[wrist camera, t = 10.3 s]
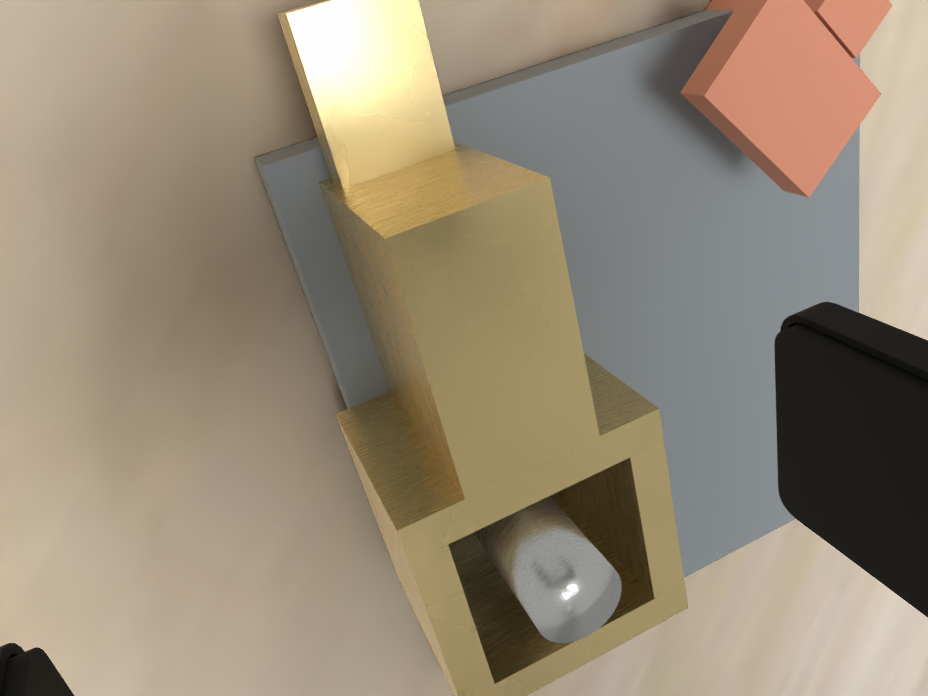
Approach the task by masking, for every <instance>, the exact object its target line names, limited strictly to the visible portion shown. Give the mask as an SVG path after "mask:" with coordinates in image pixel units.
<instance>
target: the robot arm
mask: <svg viewBox="0 0 928 696" xmlns="http://www.w3.org/2000/svg"><path fill="white" fill-rule="evenodd" d="M774 349H775V387H776V426H777V464H778V491H779V496H780V499H781V501H782V503H783V505H784V507H785V508H786V509H787V511H788V512H789V513H790V514H791V515H792V516H793V517H795V518H796V519H797V520H799V521H800V522H801V523H803V524H804V525H805V526H807V527H808V528H809V529H811V530H812V531H813V532H815V533H816V534H817V535H819V536H820V537H821V538H823V539H824V540H825V541H827V542H828V543H829V544H831V545H832V546H833V547H835V548H836V549H837V550H839V551H840V552H841V553H843V554H844V555H845V556H847V557H848V558H849V559H851V560H852V561H853V562H855V563H856V564H857V565H859V566H860V567H861V568H863V569H864V570H865V571H867V572H868V573H869V574H871V575H872V576H873V577H875V578H876V579H877V580H879V581H880V582H881V583H883V584H884V585H885V586H887V587H888V588H889V589H891V590H892V591H893V592H895V593H896V594H897V595H899V596H900V597H901V598H903V599H904V600H905V601H907V602H908V603H909V604H911V605H912V606H913V607H915V608H916V609H917V610H919V611H920V612H921V613H923V614H924V615H925V616H927V617H928V341H927V340H925V339H922V338H920V337H917V336H915V335H913V334H910V333H908V332H905V331H903V330H900V329H898V328H895V327H893V326H890V325H888V324H885V323H883V322H880V321H878V320H875V319H873V318H870V317H868V316H865V315H863V314H861V313H858V312H856V311H853V310H851V309H848V308H846V307H843V306H841V305H838V304H836V303H832V302H822V303H819V304H817V305H814V306H812V307H809V308H807V309H805V310H802V311H800V312H797V313H795V314H793V315H790V316H788V317H787V318H786V319H784V321H783V323H782V325H781V329H780V332H779V333H778V334H777V336H776V338H775V343H774ZM0 696H74V695H73V693H72V692H71V690H70V689H69V687H68V686H67V684H66V683H65V681H64V680H63V678H62V677H61V675H60V674H59V672H58V671H57V669H56V668H55V666H54V665H53V663H52V662H51V660H50V659H49V657H48V656H47V654H46V653H45V652H44V651H43V650H42V649H40V648H33V649H31V650H28V651H26V652H24V650H23V649H22V648H21V647H20V646H18V645H17V644H15V643H8V644H6V645H4V646H1V647H0Z"/></svg>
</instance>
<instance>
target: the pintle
mask: <svg viewBox="0 0 928 696" xmlns="http://www.w3.org/2000/svg"><path fill="white" fill-rule="evenodd" d="M473 534H474V535H475V537H476V538H477V540H478V541H479V543H480V544H481V546H482V547H483V548H484V550H485V551H486V553H487V554H488V556H489V557H490V559H491V560H492V562H493V563H494V565H495V566H496V568H497V569H498V571H499V572H500V574H501V575H502V577H503V578H504V580H505V581H506V583H507V584H508V586H509V587H510V589H511V590H512V592H513V593H514V595H515V596H516V598H517V599H518V601H519V602H520V604H521V605H522V607H523V608H524V610H525V611H526V613H527V614H528V616H529V617H530V619H531V620H532V622H533V623H534V624H535V626H536V627H537V629H538V630H539V632H540V633H541V634H542V636H543V637H545V638H546V639H548V640H550V641H552V642H556V643H569V642H574V641H577V640H580V639H583V638H585V637H587V636H589V635H590V634H592V633H594V632H595V631H596V630H598V629H599V628H600V627H601V626H602V625H603V624H604V623H605V622H606V621H607V620H608V619H609V618H610V617H611V615H612V614H613V612H614V611H615V609H616V607H617V605H618V602H619V600H620V596H621V591H622V584H621V579H620V576H619V574H618V572H617V571H616V570H615V569H614V568H613V566H612V565H611V564H610V563H609V562H608V561H607V560H606V559H605V557H604V556H603V555H602V554H601V553H600V552H599V551H598V549H597V548H596V547H595V546H594V545H593V544H592V543H591V542H590V540H589V539H588V538H587V537H586V536H585V535H584V534H583V533H582V531H581V530H580V529H579V528H578V527H577V526H576V525H575V523H574V522H573V521H572V520H571V519H570V518H569V517H568V516H567V514H566V513H565V512H564V511H563V510H562V509H561V508H560V507H559V505H558V504H557V503H556V502H555V501H554V500H553V499H552V497H551V496H548V497H546V498H544V499H542V500H540V501H538V502H536V503H534V504H532V505H530V506H527V507H525V508H523V509H521V510H519V511H517V512H515V513H513V514H511V515H509V516H507V517H505V518H502V519H500V520H498V521H496V522H494V523H492V524H490V525H488V526H486V527H484V528H482V529H479V530H477V531H475V532H473Z"/></svg>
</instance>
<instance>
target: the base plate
mask: <svg viewBox="0 0 928 696" xmlns="http://www.w3.org/2000/svg"><path fill="white" fill-rule="evenodd" d="M733 11H734V10H704V11H701V12H698V13H695V14H692V15H689V16H686V17H683V18H680V19H677V20H674V21H671V22H668V23H665V24H661V25H658V26H655V27H652V28H649V29H646V30H643V31H640V32H637V33H634V34H631V35H628V36H625V37H622V38H619V39H615V40H612V41H609V42H606V43H603V44H600V45H597V46H594V47H591V48H588V49H585V50H582V51H579V52H576V53H573V54H570V55H566V56H563V57H560V58H557V59H554V60H551V61H548V62H545V63H542V64H539V65H536V66H533V67H530V68H527V69H524V70H520V71H517V72H514V73H511V74H508V75H505V76H502V77H499V78H496V79H493V80H490V81H487V82H484V83H481V84H478V85H475V86H471V87H468V88H465V89H462V90H459V91H456V92H453V93H450V94H447V95H444V96H442V97H443V101H444V105H445V109H446V113H447V118H448V122H449V126H450V130H451V134H452V138H453V141H454V142H457V143H460V144H462V145H465V146H468V147H470V148H473V149H476V150H478V151H481V152H484V153H486V154H489V155H492V156H494V157H497V158H500V159H502V160H505V161H508V162H510V163H513V164H516V165H518V166H521V167H523V168H526V169H529V170H531V171H534V172H537V173H539V174H542V175H545V176H547V177H550V180H551V186H552V191H553V196H554V201H555V206H556V212H557V217H558V222H559V227H560V232H561V238H562V243H563V248H564V253H565V258H566V264H567V269H568V274H569V279H570V284H571V290H572V295H573V300H574V305H575V310H576V316H577V321H578V326H579V331H580V336H581V341H582V347H583V352H584V354H586V355H587V356H588V357H590V358H591V359H592V360H594V361H595V362H597V363H598V364H599V365H601V366H602V367H603V368H605V369H606V370H607V371H609V372H610V373H611V374H613V375H614V376H616V377H617V378H618V379H620V380H621V381H622V382H624V383H625V384H626V385H628V386H629V387H631V388H632V389H633V390H635V391H636V392H637V393H639V394H640V395H641V396H643V397H644V398H646V399H647V400H648V401H650V402H651V403H652V404H654V405H655V406H656V407H658V408H659V410H660V417H661V424H662V431H663V438H664V445H665V452H666V458H667V465H668V472H669V479H670V486H671V493H672V500H673V507H674V514H675V521H676V528H677V534H678V541H679V548H680V555H681V562H682V569H683V576H684V577H686V576H688V575H690V574H692V573H693V572H695V571H697V570H699V569H701V568H703V567H705V566H707V565H709V564H710V563H712V562H714V561H716V560H718V559H720V558H722V557H724V556H726V555H727V554H729V553H731V552H733V551H735V550H737V549H739V548H741V547H743V546H745V545H746V544H748V543H750V542H752V541H754V540H756V539H758V538H760V537H762V536H763V535H765V534H767V533H769V532H771V531H773V530H775V529H777V528H779V527H781V526H782V525H784V524H786V523H788V522H790V521H792V520H794V519H796V518H795V517H793V516H792V515H791V514H790V513H789V512H788V511H787V509H786V508H785V507H784V505H783V503H782V501H781V499H780V496H779V491H778V464H777V426H776V387H775V349H774V343H775V338H776V336H777V334H778V333H779V332H780V329H781V325H782V323H783V321H784V319H786V318H787V317H788V316H790V315H793V314H795V313H797V312H800V311H802V310H805V309H807V308H809V307H812V306H814V305H817V304H819V303H822V302H832V303H836V304H838V305H841V306H843V307H846V308H848V309H851V310H853V311H856V312H858V313H859V126H858V128H857V129H856V131H855V132H854V134H853V135H852V136H851V138H850V139H849V141H848V142H847V144H846V145H845V147H844V148H843V149H842V151H841V152H840V154H839V155H838V157H837V158H836V160H835V161H834V162H833V164H832V165H831V167H830V168H829V170H828V171H827V173H826V174H825V175H824V177H823V178H822V180H821V181H820V183H819V184H818V186H817V187H816V188H815V190H814V191H813V193H812V194H811V196H810V197H805V196H801V195H797V194H793V193H790V192H786V191H783V190H782V189H781V188H780V187H779V186H778V185H777V184H776V183H775V182H774V181H773V180H772V179H771V178H770V177H769V176H767V175H766V174H765V173H764V172H763V171H762V170H761V169H760V168H759V167H758V166H757V165H756V164H755V163H754V162H753V161H752V160H751V159H750V158H748V157H747V156H746V155H745V154H744V153H743V152H742V151H741V150H740V149H739V148H738V147H737V146H736V145H735V144H734V143H733V142H732V141H731V140H729V139H728V138H727V137H726V136H725V135H724V134H723V133H722V132H721V131H720V130H719V129H718V128H717V127H716V126H715V125H714V124H713V123H712V122H710V121H709V120H708V119H707V118H706V117H705V116H704V115H703V114H702V113H701V112H700V111H699V110H698V109H697V108H696V107H695V106H694V105H692V104H691V103H690V102H689V101H688V100H687V99H686V98H685V97H684V96H683V95H682V94H681V93H680V92H681V91H682V89H683V88H684V86H685V85H686V83H687V81H688V80H689V78H690V77H691V75H692V74H693V72H694V71H695V69H696V68H697V66H698V65H699V63H700V62H701V60H702V59H703V57H704V56H705V54H706V53H707V51H708V49H709V48H710V46H711V45H712V43H713V42H714V40H715V39H716V37H717V36H718V34H719V33H720V31H721V30H722V28H723V27H724V25H725V24H726V22H727V21H728V19H729V17H730V16H731V14H732V13H733ZM852 59H853V60H854V62H855V63H856V64H857V65H858V66H859V68H860V54H859V55H858V57H857V58H852ZM254 159H255V162H256V164H257V167H258V170H259V172H260V175H261V178H262V181H263V183H264V186H265V189H266V191H267V194H268V197H269V199H270V202H271V205H272V208H273V210H274V213H275V216H276V218H277V221H278V224H279V226H280V229H281V232H282V235H283V237H284V240H285V243H286V245H287V248H288V251H289V253H290V256H291V259H292V262H293V264H294V267H295V270H296V272H297V275H298V278H299V280H300V283H301V286H302V289H303V291H304V294H305V297H306V299H307V302H308V305H309V307H310V310H311V313H312V316H313V318H314V321H315V324H316V326H317V329H318V332H319V335H320V337H321V340H322V343H323V345H324V348H325V351H326V353H327V356H328V359H329V362H330V364H331V367H332V370H333V372H334V375H335V378H336V380H337V383H338V386H339V389H340V391H341V394H342V397H343V399H344V402H345V405H346V407H347V409H349V408H351V407H354V406H356V405H358V404H361V403H363V402H366V401H368V400H370V399H373V398H375V397H377V396H380V395H382V394H385V393H387V392H389V389H388V386H387V383H386V380H385V377H384V374H383V371H382V368H381V365H380V362H379V359H378V356H377V353H376V350H375V347H374V344H373V342H372V339H371V336H370V333H369V330H368V327H367V324H366V321H365V318H364V315H363V312H362V309H361V306H360V303H359V300H358V297H357V294H356V291H355V288H354V285H353V283H352V280H351V277H350V274H349V271H348V268H347V265H346V262H345V259H344V256H343V253H342V250H341V247H340V244H339V241H338V238H337V235H336V232H335V229H334V226H333V224H332V221H331V218H330V215H329V212H328V209H327V206H326V203H325V200H324V197H323V194H322V191H321V188H320V185H319V181H322V180H325V179H328V178H331V176H330V173H329V170H328V167H327V164H326V161H325V157H324V154H323V151H322V148H321V145H320V142H319V139H318V137H315V138H312V139H309V140H306V141H303V142H300V143H297V144H294V145H291V146H288V147H285V148H281V149H278V150H275V151H272V152H269V153H266V154H263V155H260V156H257V157H254Z"/></svg>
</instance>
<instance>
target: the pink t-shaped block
mask: <svg viewBox="0 0 928 696" xmlns="http://www.w3.org/2000/svg"><path fill="white" fill-rule="evenodd" d="M891 7H892V4H891V3H890V2H889V0H712V1H711V2H710V4H709V5H708V7H707V8H706V10H734V11H733V13H732V14H731V16H730V17H729V19H728V21H727V22H726V24H725V25H724V27H723V28H722V30H721V31H720V33H719V34H718V36H717V37H716V39H715V40H714V42H713V43H712V45H711V46H710V48H709V49H708V51H707V53H706V54H705V56H704V57H703V59H702V60H701V62H700V63H699V65H698V66H697V68H696V69H695V71H694V72H693V74H692V75H691V77H690V78H689V80H688V81H687V83H686V85H685V86H684V88H683V89H682V91H681V92H680V93H681V94H682V95H683V96H684V97H685V98H686V99H687V100H688V101H689V102H690V103H691V104H692V105H694V106H695V107H696V108H697V109H698V110H699V111H700V112H701V113H702V114H703V115H704V116H705V117H706V118H707V119H708V120H709V121H710V122H712V123H713V124H714V125H715V126H716V127H717V128H718V129H719V130H720V131H721V132H722V133H723V134H724V135H725V136H726V137H727V138H728V139H729V140H731V141H732V142H733V143H734V144H735V145H736V146H737V147H738V148H739V149H740V150H741V151H742V152H743V153H744V154H745V155H746V156H747V157H748V158H750V159H751V160H752V161H753V162H754V163H755V164H756V165H757V166H758V167H759V168H760V169H761V170H762V171H763V172H764V173H765V174H766V175H767V176H769V177H770V178H771V179H772V180H773V181H774V182H775V183H776V184H777V185H778V186H779V187H780V188H781V189H782V190H783V191H786V192H790V193H793V194H797V195H801V196H805V197H810V196H811V194H812V193H813V191H814V190H815V188H816V187H817V186H818V184H819V183H820V181H821V180H822V178H823V177H824V175H825V174H826V173H827V171H828V170H829V168H830V167H831V165H832V164H833V162H834V161H835V160H836V158H837V157H838V155H839V154H840V152H841V151H842V149H843V148H844V147H845V145H846V144H847V142H848V141H849V139H850V138H851V136H852V135H853V134H854V132H855V131H856V129H857V128H858V126H859V125H860V123H861V122H862V121H863V119H864V118H865V116H866V115H867V113H868V112H869V110H870V109H871V108H872V106H873V105H874V103H875V102H876V100H877V99H878V97H879V96H880V95H881V93H880V92H879V91H878V89H877V88H876V87H875V86H874V85H873V83H872V82H871V81H870V80H869V79H868V77H867V76H866V75H865V74H864V72H863V71H862V70H861V69H860V68H859V66H858V65H857V64H856V63H855V62H854V60H853V59H852V58H857V57H858V55H859V54H860V52H861V51H862V49H863V48H864V46H865V45H866V43H867V42H868V41H869V39H870V38H871V36H872V35H873V33H874V32H875V30H876V29H877V27H878V26H879V24H880V23H881V22H882V20H883V19H884V17H885V16H886V14H887V13H888V11H889V10H890V8H891Z"/></svg>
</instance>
